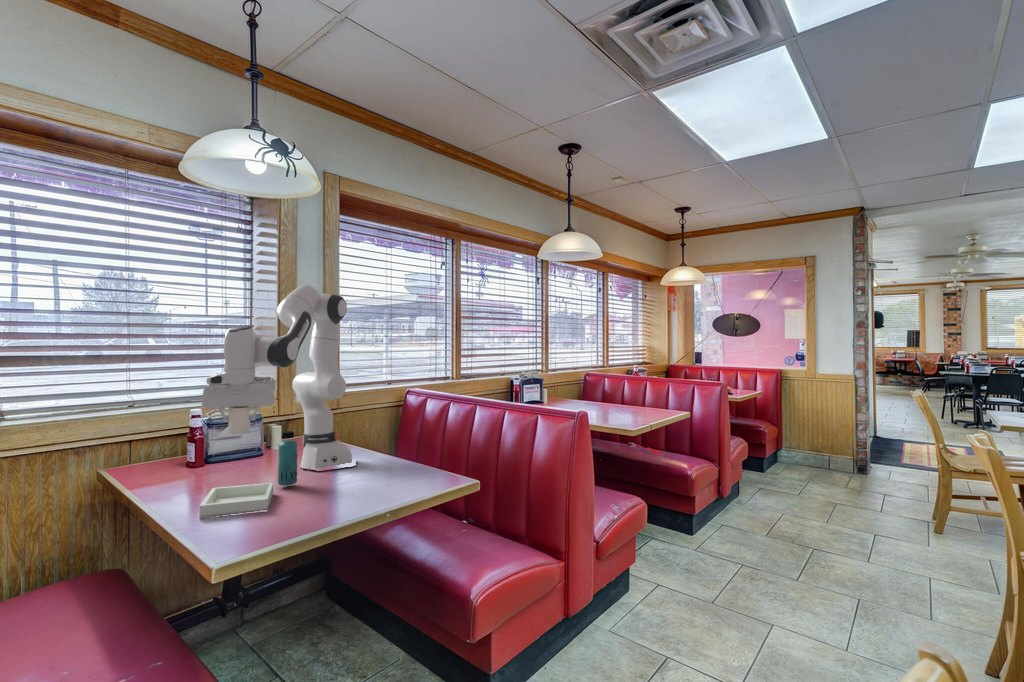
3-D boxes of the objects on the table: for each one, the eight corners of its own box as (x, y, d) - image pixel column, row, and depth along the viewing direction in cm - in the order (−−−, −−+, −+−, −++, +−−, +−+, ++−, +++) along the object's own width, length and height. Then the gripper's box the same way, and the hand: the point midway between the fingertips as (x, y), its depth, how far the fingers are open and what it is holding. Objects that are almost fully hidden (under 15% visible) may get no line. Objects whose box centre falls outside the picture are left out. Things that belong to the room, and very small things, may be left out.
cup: (251, 430, 159) (251, 405, 159) (248, 433, 154) (248, 407, 154) (230, 431, 157) (230, 406, 157) (226, 434, 151) (226, 408, 151)
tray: (273, 494, 167) (273, 482, 167) (267, 512, 150) (267, 499, 150) (212, 500, 161) (212, 487, 161) (199, 519, 144) (199, 505, 144)
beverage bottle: (277, 491, 171) (278, 433, 170) (277, 485, 177) (277, 430, 176) (298, 488, 174) (298, 432, 173) (296, 483, 180) (297, 429, 179)
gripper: (276, 375, 162) (276, 417, 162) (205, 377, 155) (205, 420, 155) (274, 377, 156) (274, 420, 156) (200, 378, 149) (200, 424, 149)
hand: (239, 420), depth 155 cm, fingers closed on cup, 6 cm apart
